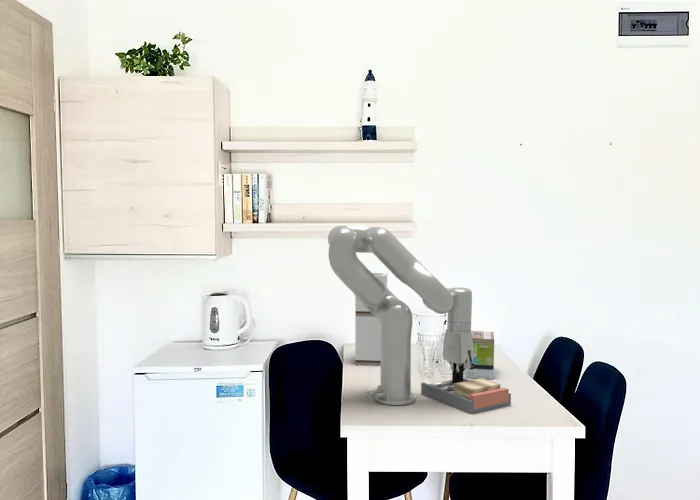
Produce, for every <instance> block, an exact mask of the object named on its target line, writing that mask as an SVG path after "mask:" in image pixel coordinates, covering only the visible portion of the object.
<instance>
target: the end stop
mask: <svg viewBox="0 0 700 500" xmlns="http://www.w3.org/2000/svg"><path fill="white" fill-rule="evenodd" d="M509 390H510V389H509V388H506V387H500V388H499V389H494V390H489V391H484V392H479V393H474V394H470V400H472V401H474V409H479V408H483V407H488V406H492V405H497V404H501V403H506V402H508V396H509V393H510V392H509Z"/></svg>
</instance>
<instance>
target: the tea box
mask: <svg viewBox="0 0 700 500" xmlns="http://www.w3.org/2000/svg"><path fill="white" fill-rule="evenodd" d="M471 333H472V340H473V360H472V363H470V365H471V368H466V369H465V378H466V379H469V378H470V379H480V378H483V379H486V380H494V368H495V367H494V365H495V335H494V333H495V332H494V331H485V330H471Z"/></svg>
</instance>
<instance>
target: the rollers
mask: <svg viewBox="0 0 700 500" xmlns="http://www.w3.org/2000/svg"><path fill="white" fill-rule="evenodd" d="M428 384H429V385H432V386H435V387H437V388H440V389H442V390H445V391H448V392H450V393H453V384H454V383H452V379H449V380H444V381H439V382H435V383H434V382H433V383H428ZM453 394H454V393H453ZM456 395H457V394H456ZM458 396H460V395H458ZM461 397H462V396H461ZM464 398H465V397H464ZM466 399H468V398H466ZM469 400H470V399H469Z"/></svg>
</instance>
